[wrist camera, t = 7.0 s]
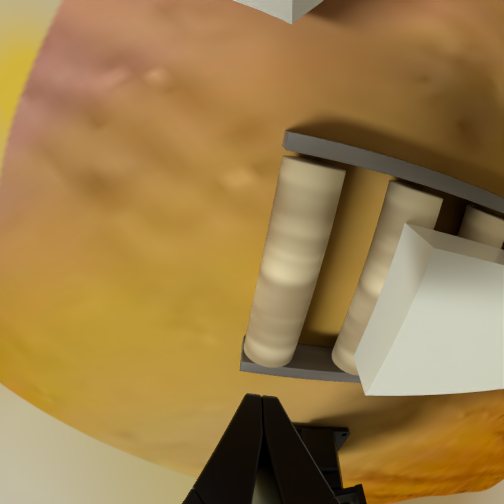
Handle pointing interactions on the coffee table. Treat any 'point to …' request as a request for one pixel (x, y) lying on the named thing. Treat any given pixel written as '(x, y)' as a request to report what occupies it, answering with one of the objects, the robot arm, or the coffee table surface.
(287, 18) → the die
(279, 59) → the coffee table surface
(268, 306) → the roller bed
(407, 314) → the slab
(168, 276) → the coffee table surface
